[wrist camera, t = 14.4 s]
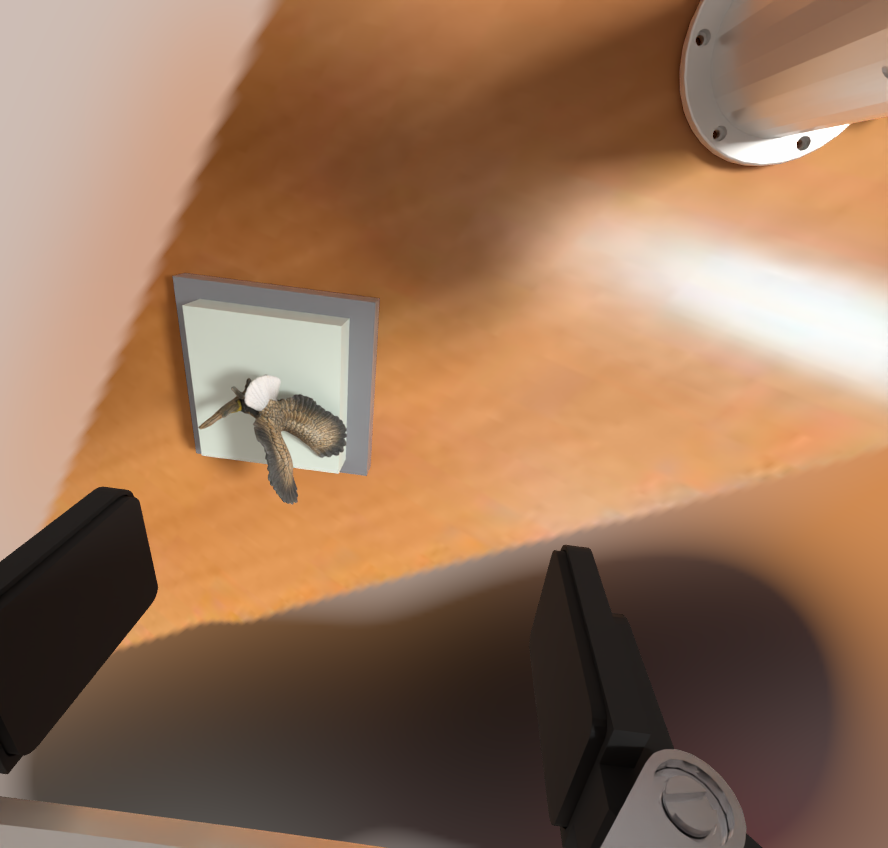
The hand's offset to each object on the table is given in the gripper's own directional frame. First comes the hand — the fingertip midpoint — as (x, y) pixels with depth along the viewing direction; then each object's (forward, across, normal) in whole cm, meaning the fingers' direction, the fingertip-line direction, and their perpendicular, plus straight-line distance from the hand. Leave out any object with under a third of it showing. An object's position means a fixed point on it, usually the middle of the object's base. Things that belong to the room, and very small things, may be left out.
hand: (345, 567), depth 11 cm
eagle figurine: (+26, +11, +10) cm, 30 cm away
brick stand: (+31, +13, +8) cm, 35 cm away
